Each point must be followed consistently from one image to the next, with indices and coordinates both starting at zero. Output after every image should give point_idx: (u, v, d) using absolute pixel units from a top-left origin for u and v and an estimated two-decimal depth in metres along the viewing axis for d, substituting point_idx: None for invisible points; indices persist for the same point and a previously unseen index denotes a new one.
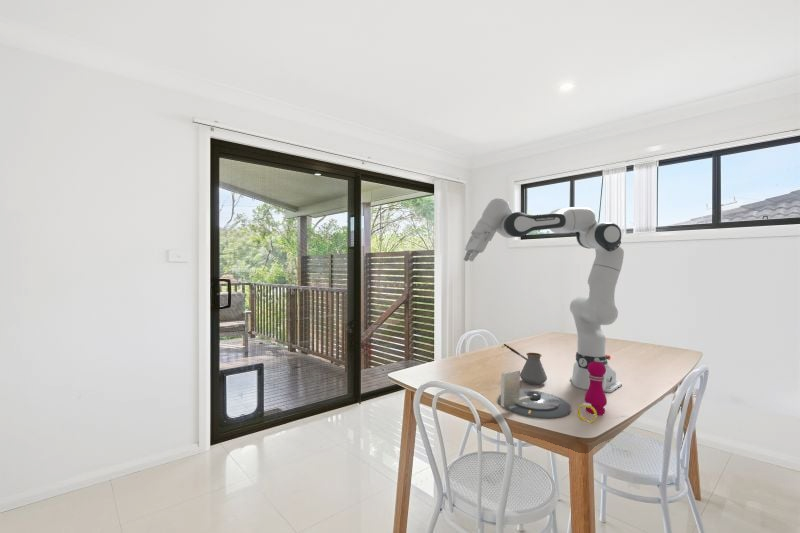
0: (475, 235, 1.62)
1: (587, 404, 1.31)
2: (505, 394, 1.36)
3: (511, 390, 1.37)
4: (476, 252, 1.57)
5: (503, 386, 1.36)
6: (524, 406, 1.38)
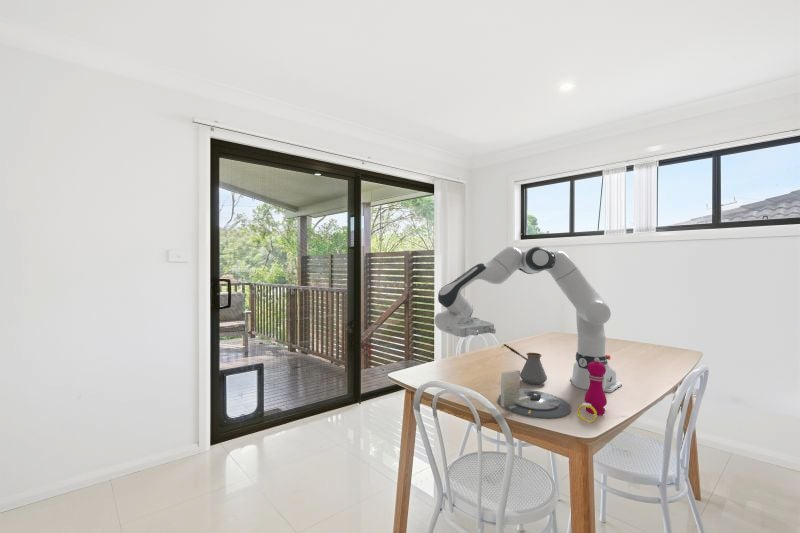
0: None
1: (587, 404, 1.31)
2: (505, 394, 1.36)
3: (511, 390, 1.37)
4: (466, 331, 1.50)
5: (503, 386, 1.36)
6: (524, 406, 1.38)
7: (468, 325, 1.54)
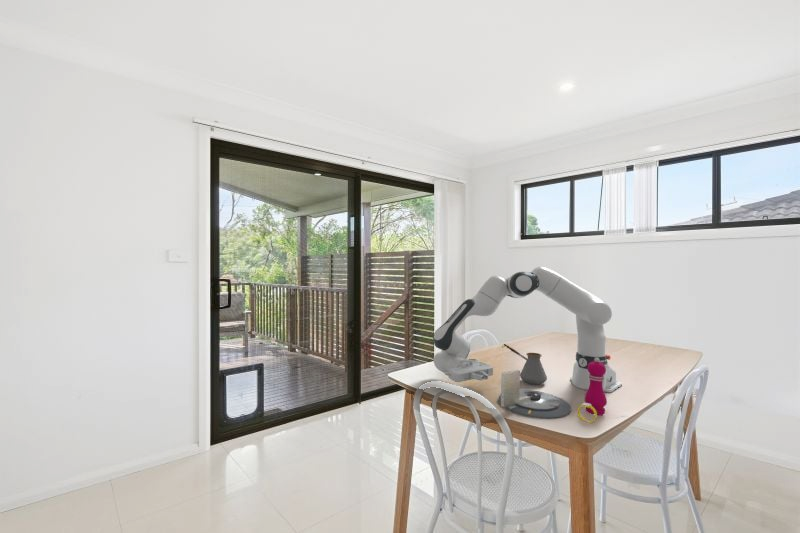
0: None
1: (587, 404, 1.31)
2: (505, 394, 1.36)
3: (511, 390, 1.37)
4: (471, 375, 1.52)
5: (503, 386, 1.36)
6: (524, 406, 1.38)
7: (467, 369, 1.55)
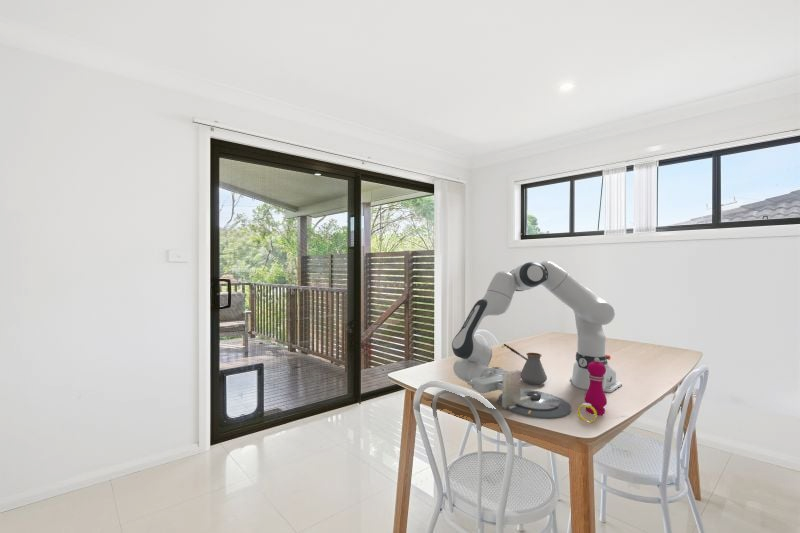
0: None
1: (587, 404, 1.31)
2: (506, 395, 1.35)
3: (512, 391, 1.37)
4: (498, 386, 1.41)
5: (504, 387, 1.35)
6: (525, 406, 1.38)
7: (492, 379, 1.43)
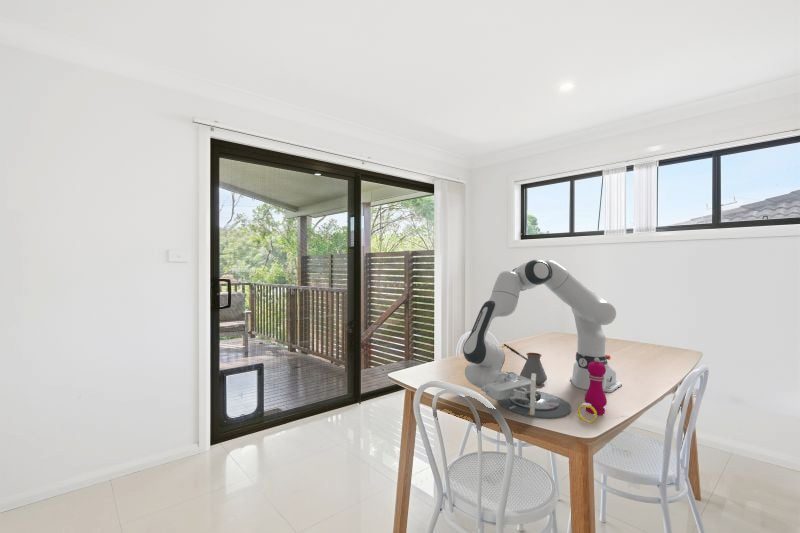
0: None
1: (587, 404, 1.31)
2: (534, 401, 1.30)
3: None
4: (513, 392, 1.35)
5: (533, 393, 1.29)
6: (541, 409, 1.36)
7: (506, 385, 1.37)
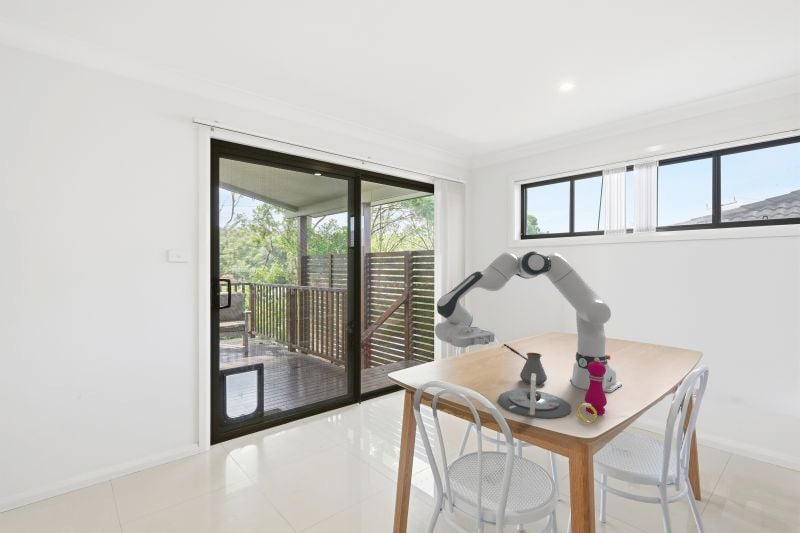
0: None
1: (587, 404, 1.31)
2: (534, 401, 1.30)
3: None
4: (474, 340, 1.52)
5: (533, 393, 1.29)
6: (541, 409, 1.36)
7: (468, 335, 1.54)
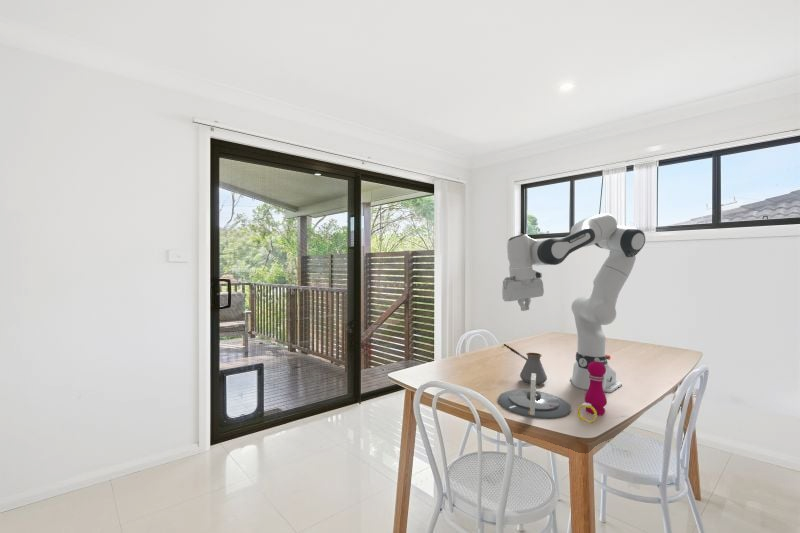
0: None
1: (587, 404, 1.31)
2: (534, 401, 1.30)
3: None
4: (520, 301, 1.49)
5: (533, 393, 1.29)
6: (541, 409, 1.36)
7: (521, 293, 1.48)
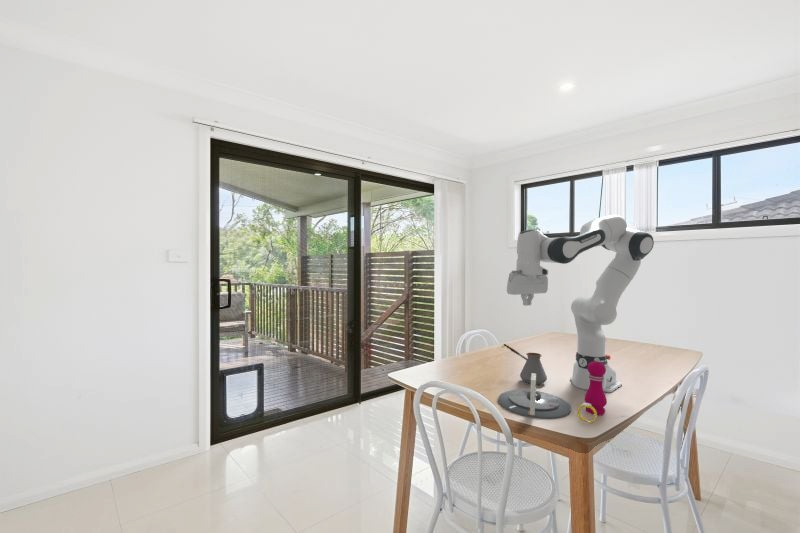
0: None
1: (587, 404, 1.31)
2: (534, 401, 1.30)
3: None
4: (523, 295, 1.49)
5: (533, 393, 1.29)
6: (541, 409, 1.36)
7: (526, 288, 1.47)
